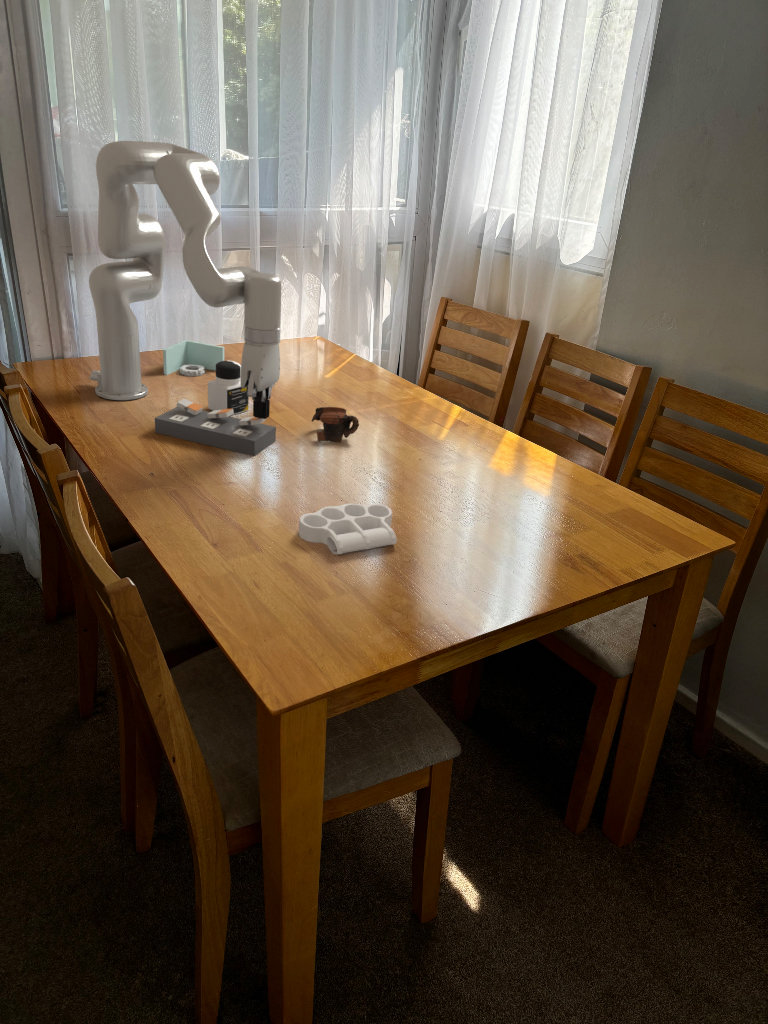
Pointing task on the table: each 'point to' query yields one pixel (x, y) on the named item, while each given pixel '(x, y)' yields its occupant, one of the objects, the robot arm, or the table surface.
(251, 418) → the rocker
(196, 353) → the right angle wall
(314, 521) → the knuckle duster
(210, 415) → the rocker
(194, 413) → the rocker
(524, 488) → the table surface
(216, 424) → the power strip
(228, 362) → the medicine bottle
